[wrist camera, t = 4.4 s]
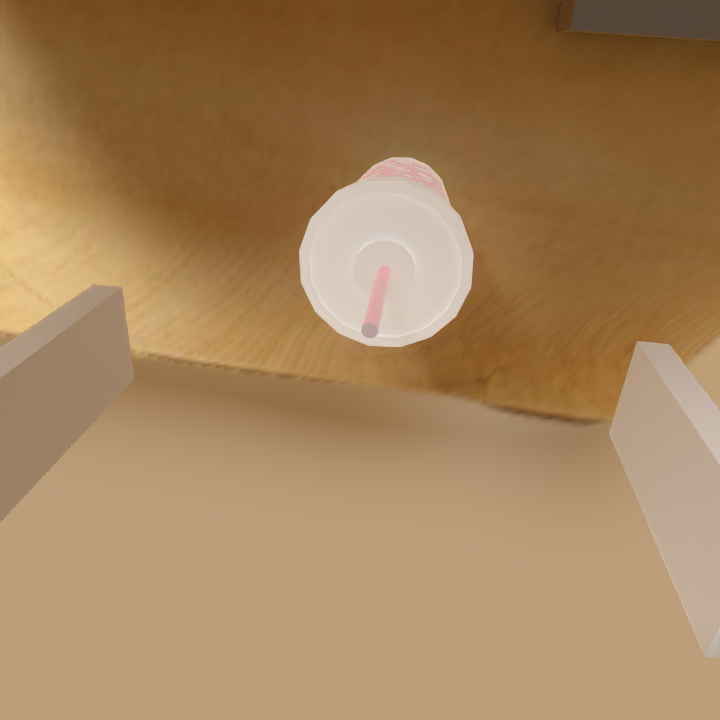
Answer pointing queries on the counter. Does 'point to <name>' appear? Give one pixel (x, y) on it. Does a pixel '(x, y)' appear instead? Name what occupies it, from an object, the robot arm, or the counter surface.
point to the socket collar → (643, 18)
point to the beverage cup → (387, 256)
